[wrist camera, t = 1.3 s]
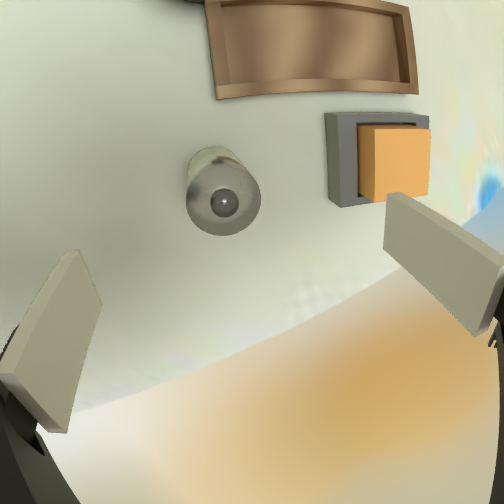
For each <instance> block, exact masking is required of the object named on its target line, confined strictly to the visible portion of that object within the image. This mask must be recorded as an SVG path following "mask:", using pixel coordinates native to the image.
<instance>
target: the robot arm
mask: <svg viewBox="0 0 504 504" xmlns="http://www.w3.org/2000/svg"><path fill="white" fill-rule="evenodd" d="M383 249H384V250H385V251H386V252H387V253H388V254H389V255H390V256H392V257H393V258H394V259H395V260H396V261H397V262H398V263H399V264H400V265H401V266H403V267H404V268H405V269H406V270H407V271H408V272H409V273H410V274H411V275H412V276H413V277H415V279H417V280H418V281H419V282H420V283H421V284H422V285H423V286H424V287H425V288H426V289H427V290H428V291H429V292H430V293H431V294H432V295H433V296H434V297H435V298H436V299H437V300H438V301H440V303H441V304H442V305H443V306H444V307H445V308H446V309H447V310H448V311H449V312H450V313H451V314H452V315H453V316H454V317H455V318H456V319H457V320H458V321H459V322H460V323H461V324H462V325H463V326H464V327H465V328H466V329H467V331H468V332H470V333H471V335H472V336H473V337H477V336H478V335H480V334H482V333H484V332H485V331H487V330H488V328H489V325H490V323H491V321H492V318H493V316H494V317H495V318H496V319H497V320H498V323H497V325H496V327H495V329H494V332H493V334H492V336H491V338H490V340H489V343H488V347H491V344H492V343H493V341H494V340H496V341H497V342H496V344H495V346H494V348H497V351H498V363H499V381H500V382H499V383H500V420H499V421H500V422H499V438H498V450H497V460H496V467H495V474H494V481H493V487H492V493H491V498H490V502H489V504H504V256H503V255H502V254H500V253H499V252H497V251H496V250H494V249H493V248H492V247H490V246H489V245H487V244H486V243H484V242H483V241H482V240H480V239H479V238H477V237H475V236H474V235H472V234H471V233H469V232H468V231H466V230H465V229H463V228H462V227H460V226H458V225H457V224H455V223H454V222H452V221H450V220H449V219H447V218H445V217H444V216H442V215H440V214H439V213H437V212H435V211H434V210H432V209H430V208H429V207H427V206H425V205H423V204H422V203H420V202H418V201H416V200H414V199H413V198H411V197H409V196H407V195H405V194H403V193H402V192H394V193H387V198H386V217H385V231H384V243H383ZM101 306H102V303H101V301H100V298H99V296H98V294H97V292H96V289H95V287H94V285H93V282H92V280H91V277H90V275H89V272H88V270H87V267H86V265H85V262H84V260H83V257H82V255H81V252H80V250H77V251H72V252H68V253H65V254H64V255H63V256H62V258H61V259H60V261H59V262H58V264H57V265H56V267H55V268H54V270H53V271H52V273H51V274H50V276H49V277H48V279H47V280H46V282H45V283H44V285H43V286H42V288H41V289H40V291H39V293H38V294H37V296H36V297H35V299H34V301H33V302H32V304H31V306H30V307H29V309H28V311H27V312H26V314H25V316H24V318H23V319H22V321H21V323H20V324H19V325H18V326H17V327H16V328H15V329H14V331H13V332H12V334H11V336H10V338H9V339H8V341H7V342H8V343H7V344H6V345H5V347H4V349H3V352H2V353H1V355H0V504H80V502H79V501H78V499H77V498H76V496H75V495H74V493H73V492H72V490H71V489H70V487H69V486H68V484H67V482H66V481H65V479H64V477H63V476H62V474H61V472H60V471H59V469H58V467H57V465H56V464H55V462H54V460H53V458H52V456H51V454H50V453H49V451H48V449H47V447H46V445H45V443H44V441H43V439H42V437H41V436H40V435H39V433H38V432H37V431H36V426H37V422H38V423H39V424H40V425H41V426H42V427H43V428H44V429H45V430H46V431H47V432H51V433H67V431H68V426H69V420H70V416H71V411H72V407H73V402H74V398H75V394H76V390H77V386H78V382H79V378H80V374H81V371H82V367H83V364H84V360H85V356H86V353H87V350H88V346H89V343H90V340H91V337H92V333H93V330H94V327H95V324H96V321H97V318H98V315H99V312H100V309H101Z"/></svg>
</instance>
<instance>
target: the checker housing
mask: <svg viewBox="0 0 504 504" xmlns="http://www.w3.org/2000/svg"><path fill="white" fill-rule="evenodd" d="M372 124H402V125H413V126H417V127H422V128H426V129H429V116H426V115H420V114H414V113H391V112H342V113H325V126H326V141H327V160H328V187H329V199H330V200H331V201H332V202H334V203H335V204H336V205H337V206H339V207H340V208H342V207H348V206H355V205H361V204H368V203H374V202H372V201H371V200H369V199H368V198H366V197H364V196H363V195H361V194H360V193H358V170H357V131H356V125H372Z"/></svg>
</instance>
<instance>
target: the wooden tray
mask: <svg viewBox="0 0 504 504" xmlns="http://www.w3.org/2000/svg"><path fill="white" fill-rule="evenodd" d="M204 7H205V15H206V23H207V31H208V39H209V47H210V54H211V62H212V70H213V77H214V85H215V92H216V100H219V99H226V98H234V97H242V96H251V95H262V94H273V93H287V92H307V91H369V92H389V93H403V94H416V95H419V90H418V75H417V64H416V54H415V46H414V38H413V31H412V24H411V18H410V12H409V7H406V6H402V5H398V4H394V3H390V2H386V1H381V0H205V1H204Z"/></svg>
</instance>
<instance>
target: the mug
mask: <svg viewBox="0 0 504 504" xmlns="http://www.w3.org/2000/svg"><path fill="white" fill-rule="evenodd" d="M184 1H188V2H191V3H204V1H205V0H184Z"/></svg>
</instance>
